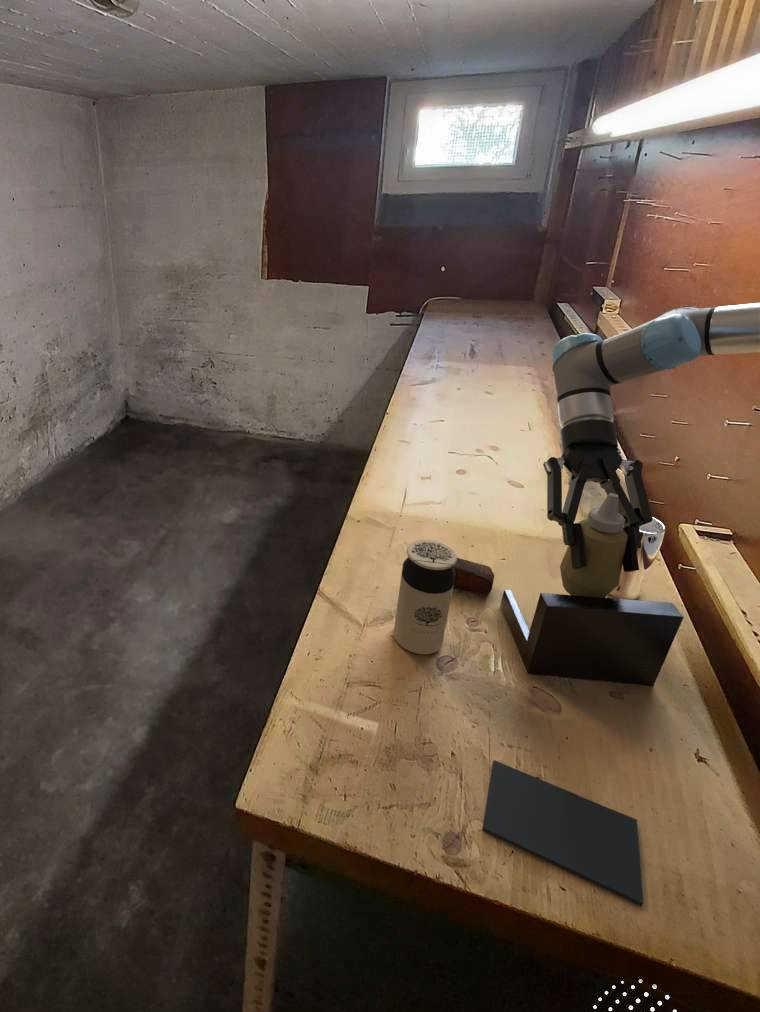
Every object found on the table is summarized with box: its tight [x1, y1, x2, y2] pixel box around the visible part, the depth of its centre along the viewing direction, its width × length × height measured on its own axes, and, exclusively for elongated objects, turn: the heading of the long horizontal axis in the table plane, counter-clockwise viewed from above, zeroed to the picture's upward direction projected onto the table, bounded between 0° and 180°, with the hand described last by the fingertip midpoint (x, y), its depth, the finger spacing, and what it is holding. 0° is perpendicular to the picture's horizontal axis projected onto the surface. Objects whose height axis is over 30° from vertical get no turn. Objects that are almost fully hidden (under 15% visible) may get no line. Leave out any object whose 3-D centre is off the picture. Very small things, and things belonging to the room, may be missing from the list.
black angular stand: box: [499, 589, 684, 687], centre depth 91 cm, size 16×18×14 cm
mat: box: [481, 759, 644, 907], centre depth 68 cm, size 16×10×1 cm, turn 60°
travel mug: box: [393, 539, 458, 655], centre depth 92 cm, size 8×8×18 cm
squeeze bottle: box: [559, 493, 628, 598], centre depth 86 cm, size 8×8×18 cm
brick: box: [453, 557, 495, 597], centre depth 107 cm, size 11×4×5 cm, turn 61°
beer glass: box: [608, 516, 667, 600], centre depth 102 cm, size 7×7×15 cm
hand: (605, 568), depth 84 cm, fingers closed on squeeze bottle, 6 cm apart
